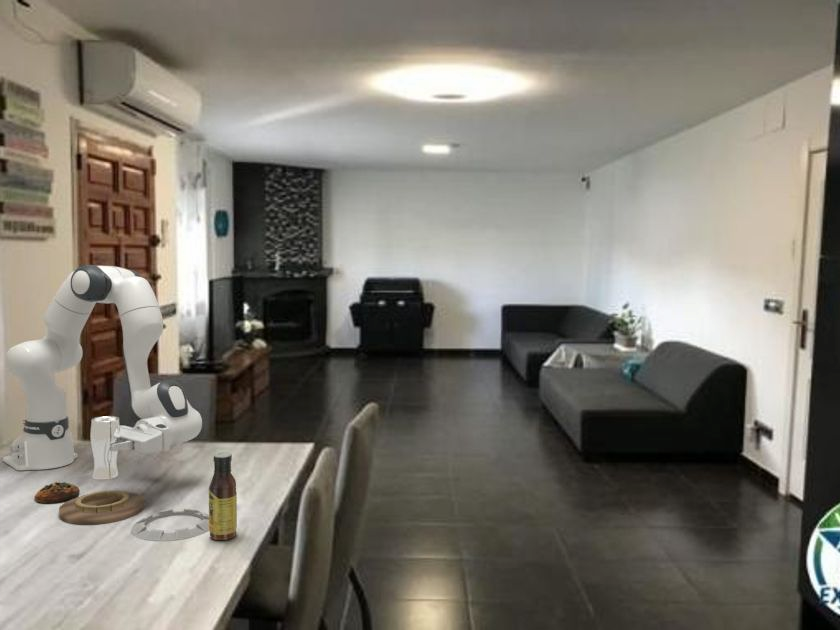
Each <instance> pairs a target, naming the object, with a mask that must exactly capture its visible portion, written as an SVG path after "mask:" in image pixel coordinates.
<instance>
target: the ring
mask: <svg viewBox="0 0 840 630" xmlns="http://www.w3.org/2000/svg"><path fill="white" fill-rule="evenodd" d="M174 516H188V517H189V516H190V517H195V518H198V519H200V522H198V523H196V525H195V527H193V528H190V529H189V527H183V528H177V529H175V530H174V532H165V531H164V529H155V528H152V529H150V530H149V529H147V525H148V524H149V523H151V522H153V521H155V520H156V521H157V520H158V519H161V518H167V517H174ZM130 530H131V531H130V532H131V534H132V536H134V537H135V538H137V539H141V540H145V541H148V542H149V541H150V542H175V541H182V540H187V539H191V538H195V537H197V536H201V535H203V534H205V533H207V532H210V531H209V513H206V512H203V511H199V510H196V509H192V508H184V509H183V510H174V509H173V508H171V509H166V510H165V509H163V510H160V511H159V512H158V513H156V514H149V515H147V516H145V517H144V518H141V519H140V520H138V521H136V522H135V523H134V524H133V525H132V526H131V528H130Z"/></svg>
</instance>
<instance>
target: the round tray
mask: <svg viewBox="0 0 840 630" xmlns="http://www.w3.org/2000/svg"><path fill="white" fill-rule="evenodd" d="M145 507H146V506H145V498H144V497H143V496H142V495H141V494H138V493H135V492H129V491H120V490H102V491H96V492H91V493H87V494H84V495H81V496H78V497H76V498H74V499H72V500H70V501H67V502H63V504H61V505H60V506H59V508H58V517H59V519H60V520H61V521H62V522H64V523H67V524H71V525H79V526H80V525H81V526H82V525H83V526H92V525H93V526H94V525H103V524H104V525H105V524H110V523H115V522H119V521H120V522H121V521H122V520H123V521H124V520H127V519H130V518H132V517H134V516H136V515H138V514H140V513H141V512H142V511H143V510H144V509H145Z"/></svg>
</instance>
